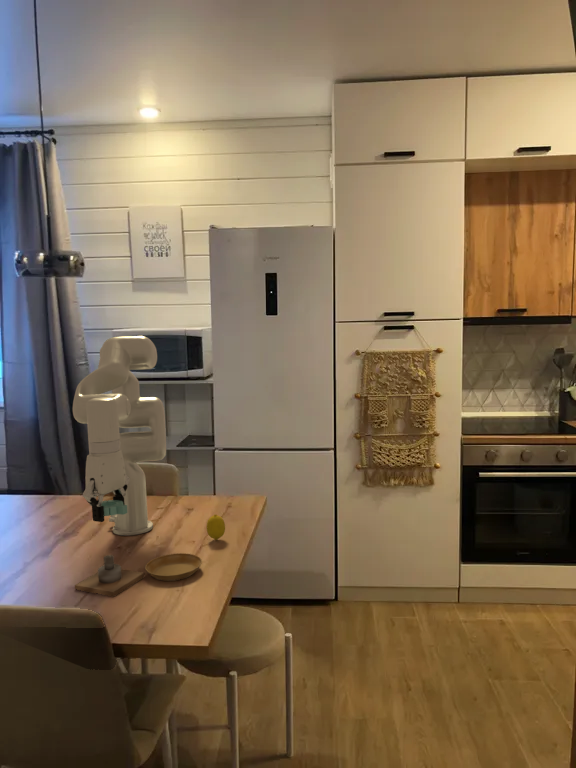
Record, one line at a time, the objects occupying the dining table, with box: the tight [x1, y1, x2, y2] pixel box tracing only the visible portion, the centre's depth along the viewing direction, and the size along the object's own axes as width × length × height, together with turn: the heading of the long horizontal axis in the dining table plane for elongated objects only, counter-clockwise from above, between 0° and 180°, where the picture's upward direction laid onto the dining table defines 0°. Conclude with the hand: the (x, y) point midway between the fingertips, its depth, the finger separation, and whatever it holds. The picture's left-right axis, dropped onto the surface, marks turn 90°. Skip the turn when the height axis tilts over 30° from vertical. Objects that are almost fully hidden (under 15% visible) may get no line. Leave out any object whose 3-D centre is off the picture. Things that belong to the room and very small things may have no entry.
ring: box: [101, 499, 127, 517], centre depth 153 cm, size 9×7×2 cm
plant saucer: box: [144, 552, 203, 582], centre depth 160 cm, size 15×15×3 cm
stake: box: [74, 554, 145, 598], centre depth 154 cm, size 12×12×7 cm
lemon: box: [206, 514, 226, 541], centre depth 183 cm, size 6×6×8 cm
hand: (109, 516), depth 153 cm, fingers closed on ring, 7 cm apart
